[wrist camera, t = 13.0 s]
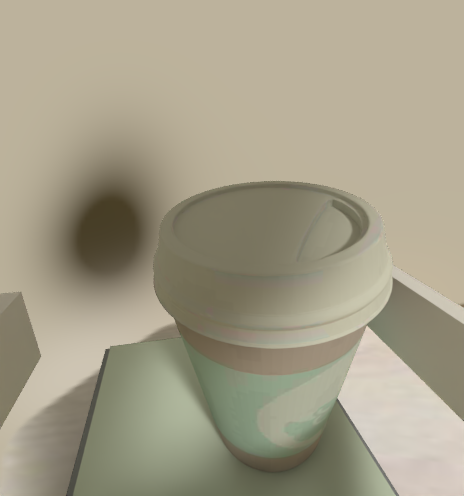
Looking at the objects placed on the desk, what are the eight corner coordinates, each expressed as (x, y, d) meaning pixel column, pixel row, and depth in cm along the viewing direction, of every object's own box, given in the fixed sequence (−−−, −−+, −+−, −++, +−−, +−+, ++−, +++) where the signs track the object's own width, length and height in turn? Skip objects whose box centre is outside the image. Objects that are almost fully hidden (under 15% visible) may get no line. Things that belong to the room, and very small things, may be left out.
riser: (283, 392, 28) (291, 318, 25) (394, 641, 14) (444, 552, 11) (120, 421, 25) (104, 342, 22) (67, 769, 11) (2, 700, 8)
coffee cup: (248, 565, 11) (221, 350, 5) (168, 392, 17) (115, 208, 11) (387, 434, 15) (466, 218, 9) (278, 331, 21) (281, 166, 15)
